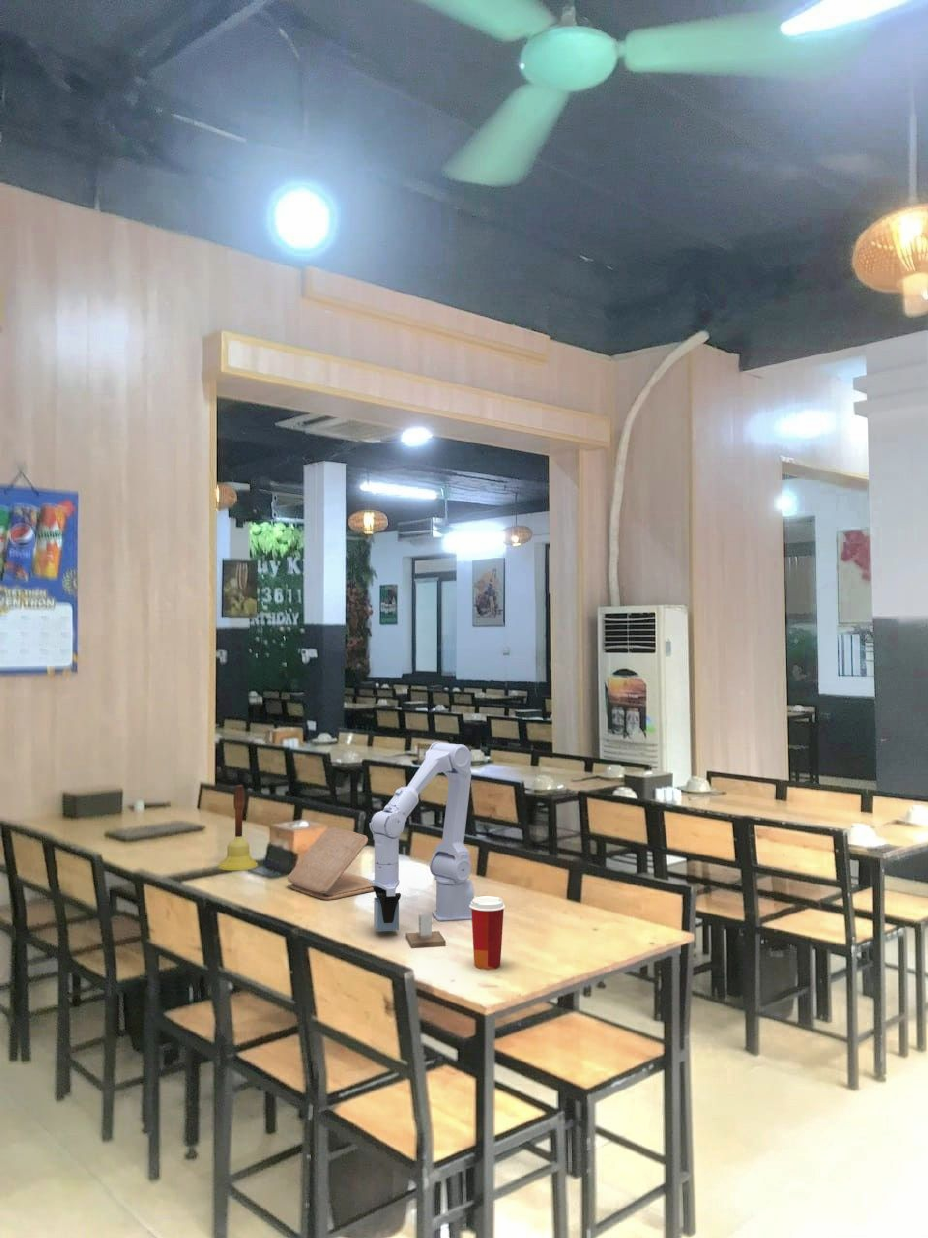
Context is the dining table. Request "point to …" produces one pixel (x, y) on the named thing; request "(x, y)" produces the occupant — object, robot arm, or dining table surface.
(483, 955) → the paper cup
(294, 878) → the case
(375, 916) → the blue-grey block
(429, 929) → the post
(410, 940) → the board
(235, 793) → the handbell
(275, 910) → the dining table surface
